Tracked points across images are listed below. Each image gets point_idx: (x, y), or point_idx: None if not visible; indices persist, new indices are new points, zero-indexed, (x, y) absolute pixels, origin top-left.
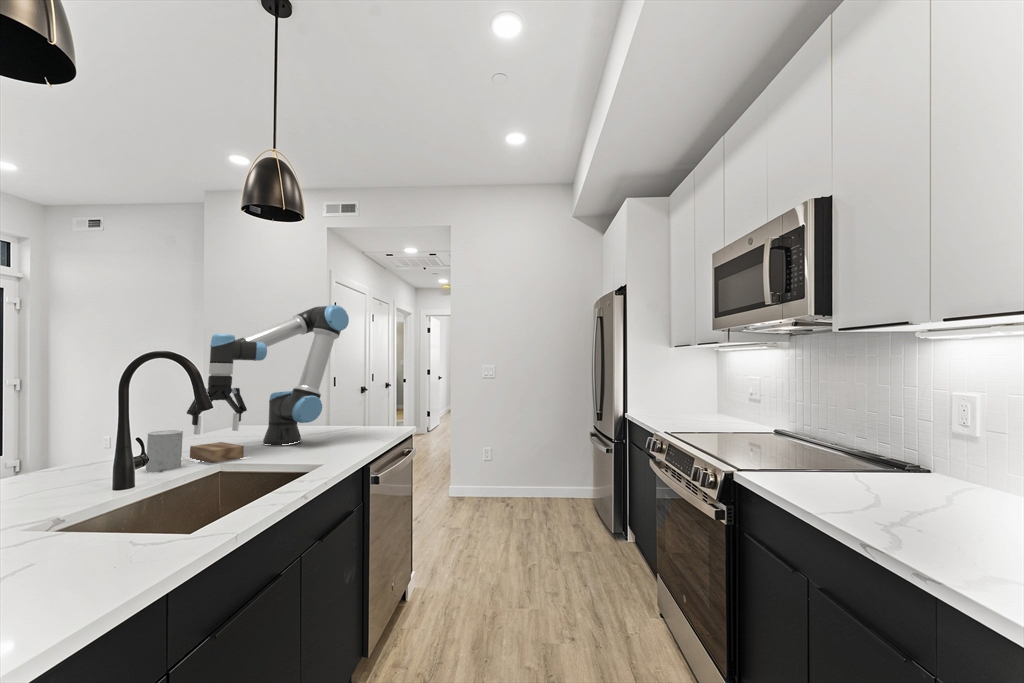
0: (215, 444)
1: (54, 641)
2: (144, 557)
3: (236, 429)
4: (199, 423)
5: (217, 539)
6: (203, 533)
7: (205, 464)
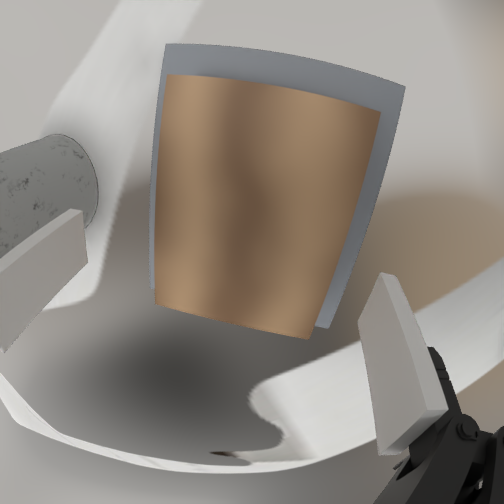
0: (284, 163)
1: (21, 424)
2: (35, 421)
3: (359, 331)
4: (32, 308)
5: (66, 442)
6: (61, 434)
7: (151, 266)
